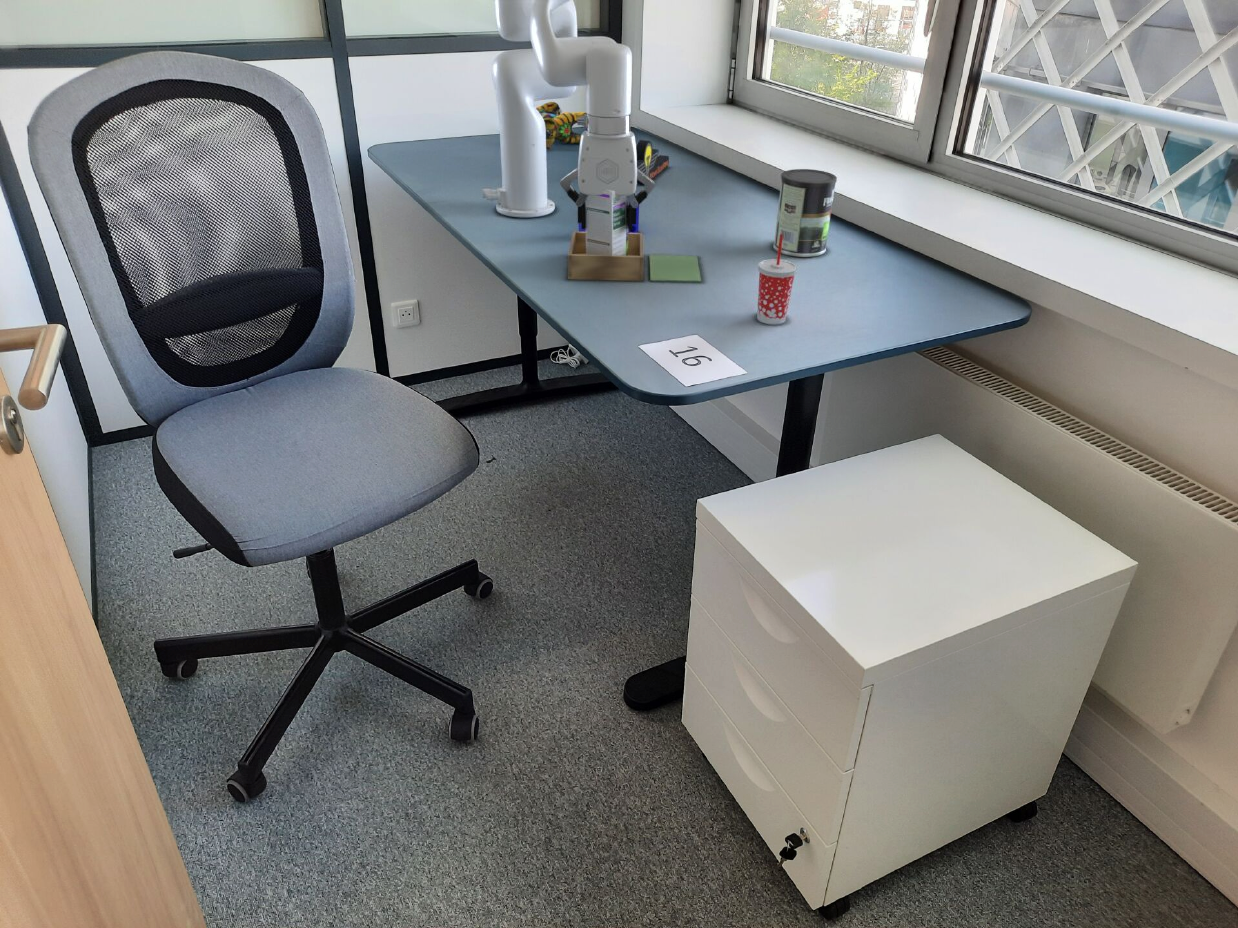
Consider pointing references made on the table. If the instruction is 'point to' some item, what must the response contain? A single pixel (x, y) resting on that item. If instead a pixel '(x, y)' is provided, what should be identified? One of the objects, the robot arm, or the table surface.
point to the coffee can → (804, 212)
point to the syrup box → (607, 224)
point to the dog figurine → (559, 124)
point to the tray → (605, 261)
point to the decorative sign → (650, 160)
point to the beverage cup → (775, 288)
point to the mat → (674, 268)
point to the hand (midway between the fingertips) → (607, 227)
